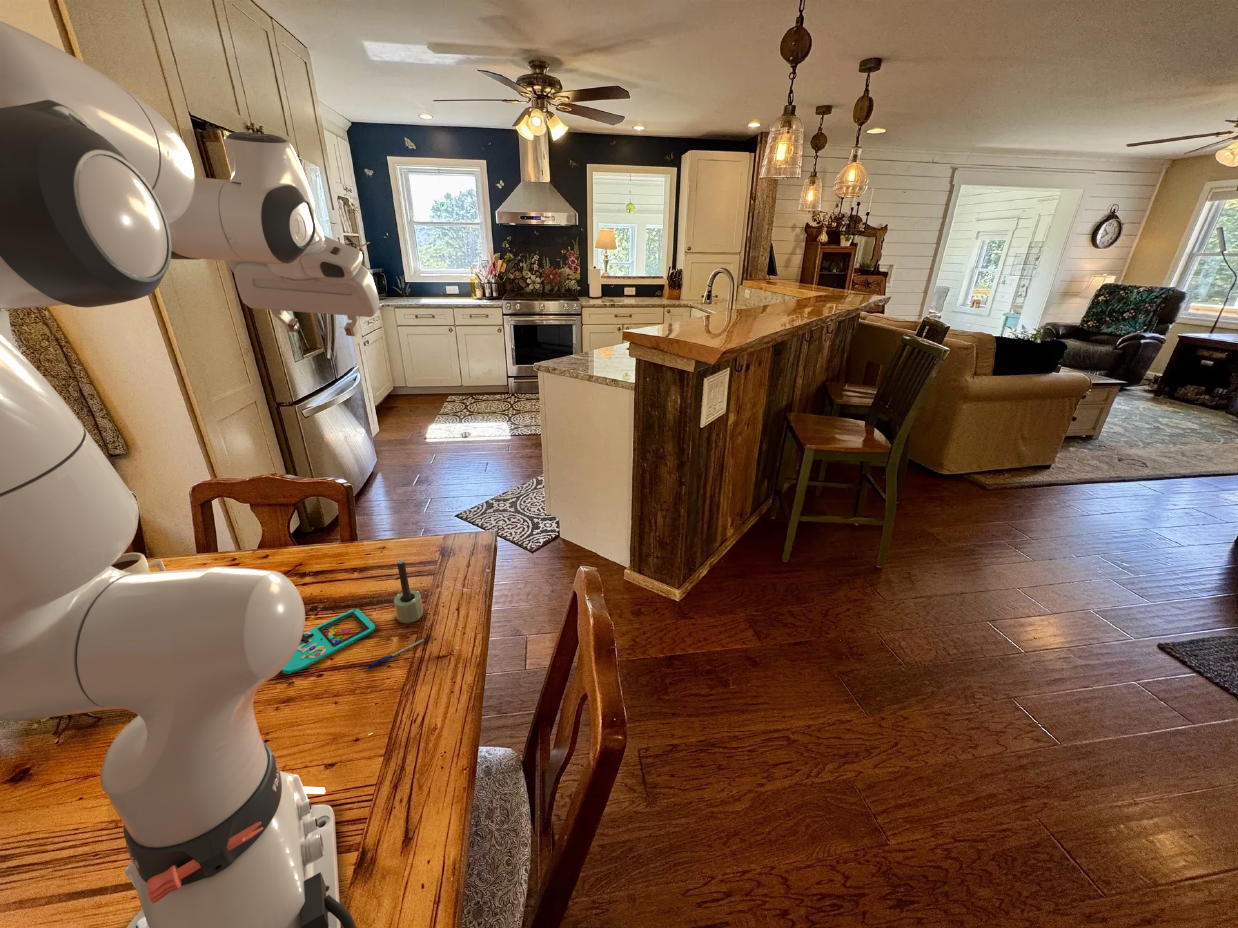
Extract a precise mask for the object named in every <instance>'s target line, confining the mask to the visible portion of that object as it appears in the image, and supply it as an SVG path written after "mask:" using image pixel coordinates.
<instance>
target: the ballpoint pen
mask: <svg viewBox="0 0 1238 928" xmlns="http://www.w3.org/2000/svg"><path fill="white" fill-rule="evenodd" d="M427 639H428V637H425V638H422V639H420V640H418V641H416V642H414V643H412V644H410V645H408V646H406V647H404V648H402V649H400V650H399V651H396V652H395V653H392V654H389V655H388V656H384V657H382V658H380V659H377V660H376V661H374V662H372V663H371V664H369V665H368V666H367V669H371V668H374V667H376V666H377V665H379V664H381V663H383V662H385V661H388V660H389V659H391V658H393V657H394V656H395V657H396V656H397V655H398V654H400V653H403V652H404V651H406V650H408V649H411V648H412V647H414V646H417V645H418V644H421V643H422V642H424V641H426V640H427Z"/></svg>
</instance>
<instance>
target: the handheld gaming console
mask: <svg viewBox="0 0 1238 928" xmlns="http://www.w3.org/2000/svg"><path fill="white" fill-rule="evenodd" d="M350 616H352V617H353V618H354V619H355V621H357V623H359V624H360V625H361V626H362V627H363V629H361V630H360V631H357V632H356V633H354V634H351V635H350V636H348V637H346V638H344V639H342V638H343V636H342V635H339V636H337V637H336V636H335V634H336V632H337V631H338V630H337V629H335V628H336V627H334V626H333V625H334V624H337V623H339V622H340V621H342V620H344V619H346V618H349V617H350ZM330 626H332V627H330ZM329 627H330V628H329ZM326 628H329V629H328V631H326V630H324V629H326ZM375 630H376V625H375V623H373V621H372V620H371V619H370V618H369V617H367V615H365V614H364V613H363V611H362V610H360V609H358V608H353V609H350V610H348V611H346V612H344V613H342V614H340V615H338V616H334V618H330V620H327V621H325V622H323V623H321V624H318V625H317V626H315V627H312V628H310V629H309V630H306V631H304V632H303V635H302V638H301V641H300V643H299V646H298V648H297V650H296V651H295V653H294V654H293V656H292V658H291V659H290V660H289V662H288V663H287V664H286V665H285V666H284V667H283V668H282V670H281V671H280V672H281V673H282V674H286V675H291V674H292V673H295V672H299V671H301V670H303V669H305V668H307V667H309V666H311V665H313V664H315V663H316V662H319V661H320V660H322V659H324V658H325V657H327V656H330V655H331V654H333V653H335V652H337V651H339V650H341V649H343V648H345V647H347V646H349V645H350V644H352V643H355V642H357V641H358V640H360V639H362V638H364V637H366V636H368V635H370V634H372V633H373V632H374V631H375ZM341 631H342V633H343V634H345V635H346V634H348V633H350V632H351V630H350V629H347V630H346V629H345V628H343V629H341Z"/></svg>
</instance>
